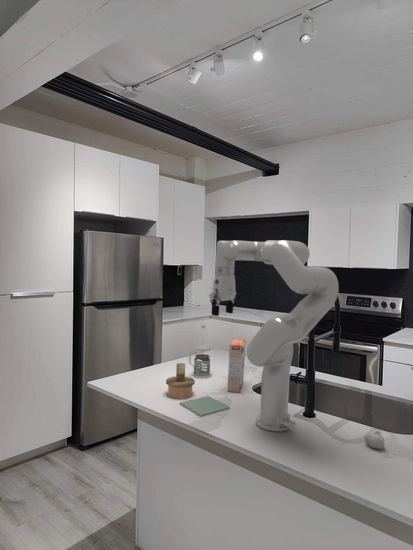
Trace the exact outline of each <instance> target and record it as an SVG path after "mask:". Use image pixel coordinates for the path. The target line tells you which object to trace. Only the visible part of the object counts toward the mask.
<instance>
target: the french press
mask: <svg viewBox="0 0 413 550" xmlns="http://www.w3.org/2000/svg"><path fill="white" fill-rule="evenodd" d="M201 328H202V329H204V328H206V325H205V324H203V325H201ZM193 348H194V349H195V350H196V351H202V353H199V354H197V352H196V351H195V350H193V351H191V352H190V353H189V357H188V362H189V364H190V365H191V366H192V367H193V373H192V374H193V375H192V374H191V376H193V377H192V378H193V379H194V378H195V379H198V380H199V379H200V380H204V379H210V378H212V377H213V375H212V374H211V373H210V371H211V358H210V357H211V356H210V355H209V354H205V353H203V352H204V351H210V350H212V349H211V346H210V345H207V344H204V343H202V344H198V345H195V347H193ZM193 354H195V355H194V357H195V358H194V360H193V361H194V362H193V363H194V364H192V362H191V359H192V355H193Z"/></svg>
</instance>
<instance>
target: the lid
mask: <svg viewBox="0 0 413 550" xmlns="http://www.w3.org/2000/svg"><path fill="white" fill-rule="evenodd" d="M175 372H176V373H175V375H176V376H170V377H168V378H166V380H165V383H166V385H167V386H168V385H169V386H172V387H189V386H192V387H193V386H194V385H195V383H196V382H195V381H196V380H195V379H194V378H193V377H189V376H186V364H185V363H182V362H178V363H176V371H175Z"/></svg>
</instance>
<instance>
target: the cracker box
mask: <svg viewBox="0 0 413 550" xmlns="http://www.w3.org/2000/svg"><path fill="white" fill-rule="evenodd" d="M228 349H229V352H228V353H229V354H228V371H227V372H228V373H227V374H228V376H227V392H229V393H231V392H232V393H239V394H240V393H241V390H242V389H243V384H244V377H245V376H244V375H245V358H246V339H245V338H233V339H232V340H231V342H230V344H229V348H228Z"/></svg>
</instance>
